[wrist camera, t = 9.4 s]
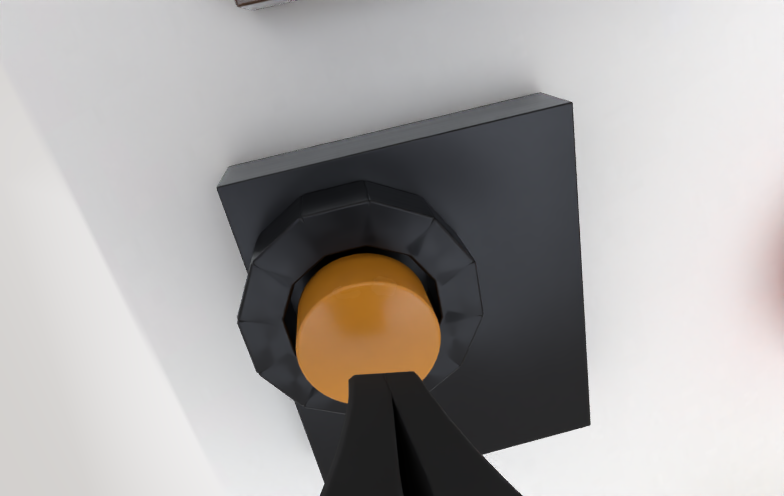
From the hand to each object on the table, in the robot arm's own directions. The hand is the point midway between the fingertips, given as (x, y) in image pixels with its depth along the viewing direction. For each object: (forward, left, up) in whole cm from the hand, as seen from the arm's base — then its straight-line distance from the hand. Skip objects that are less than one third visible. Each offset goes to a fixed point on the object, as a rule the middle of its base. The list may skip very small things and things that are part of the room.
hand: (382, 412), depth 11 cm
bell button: (0, 0, -4) cm, 4 cm away
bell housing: (+2, -2, -8) cm, 8 cm away
